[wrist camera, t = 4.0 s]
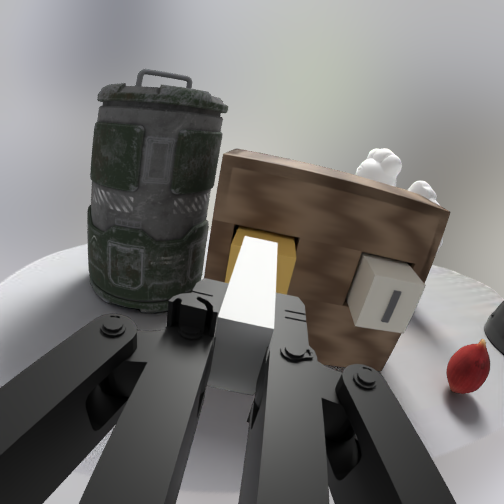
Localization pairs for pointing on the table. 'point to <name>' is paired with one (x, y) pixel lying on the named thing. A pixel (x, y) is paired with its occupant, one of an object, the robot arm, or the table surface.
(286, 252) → the button two
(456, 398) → the table surface
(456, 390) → the onion
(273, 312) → the robot arm
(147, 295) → the canister
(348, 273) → the console
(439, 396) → the table surface
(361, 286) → the button one
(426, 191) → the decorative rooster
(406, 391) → the table surface
